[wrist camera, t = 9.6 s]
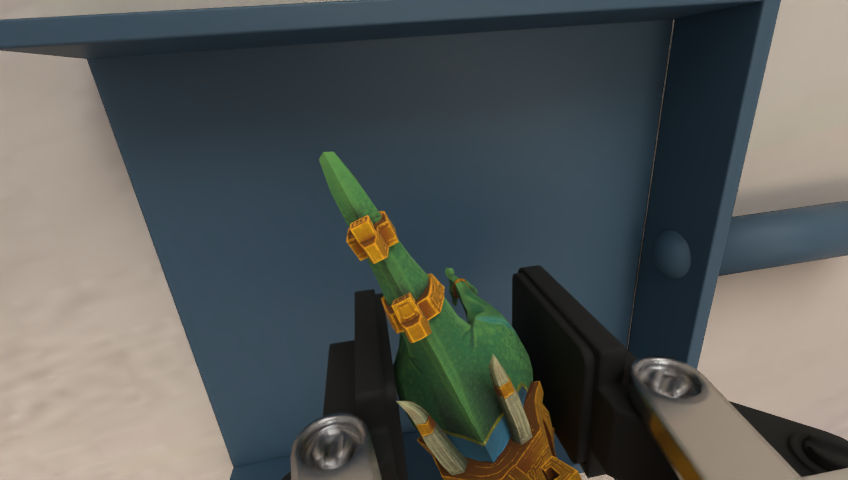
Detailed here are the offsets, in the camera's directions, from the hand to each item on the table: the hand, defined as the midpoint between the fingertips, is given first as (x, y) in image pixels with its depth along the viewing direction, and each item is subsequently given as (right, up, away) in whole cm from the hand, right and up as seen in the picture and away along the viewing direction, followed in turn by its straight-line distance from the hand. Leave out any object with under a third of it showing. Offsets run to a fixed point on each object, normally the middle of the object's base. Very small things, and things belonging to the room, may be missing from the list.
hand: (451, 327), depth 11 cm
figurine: (0, +1, +1) cm, 1 cm away
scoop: (+4, +2, +4) cm, 7 cm away
